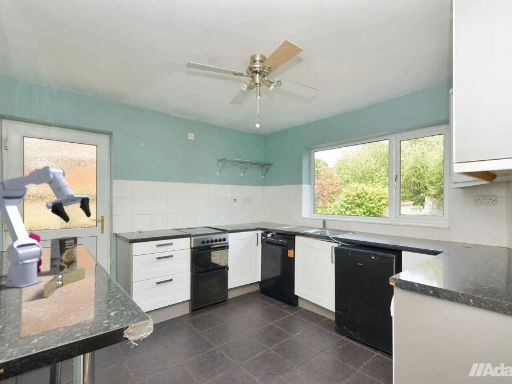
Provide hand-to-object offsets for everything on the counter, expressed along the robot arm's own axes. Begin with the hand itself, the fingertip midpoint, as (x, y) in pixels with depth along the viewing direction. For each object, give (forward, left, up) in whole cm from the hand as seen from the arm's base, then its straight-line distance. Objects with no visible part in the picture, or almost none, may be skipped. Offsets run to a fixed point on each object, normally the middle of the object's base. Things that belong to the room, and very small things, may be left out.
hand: (79, 218), depth 99 cm
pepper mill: (-44, +14, -28) cm, 54 cm away
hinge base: (-12, +6, -27) cm, 31 cm away
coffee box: (-32, +20, -28) cm, 47 cm away
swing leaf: (-9, -3, -27) cm, 29 cm away
